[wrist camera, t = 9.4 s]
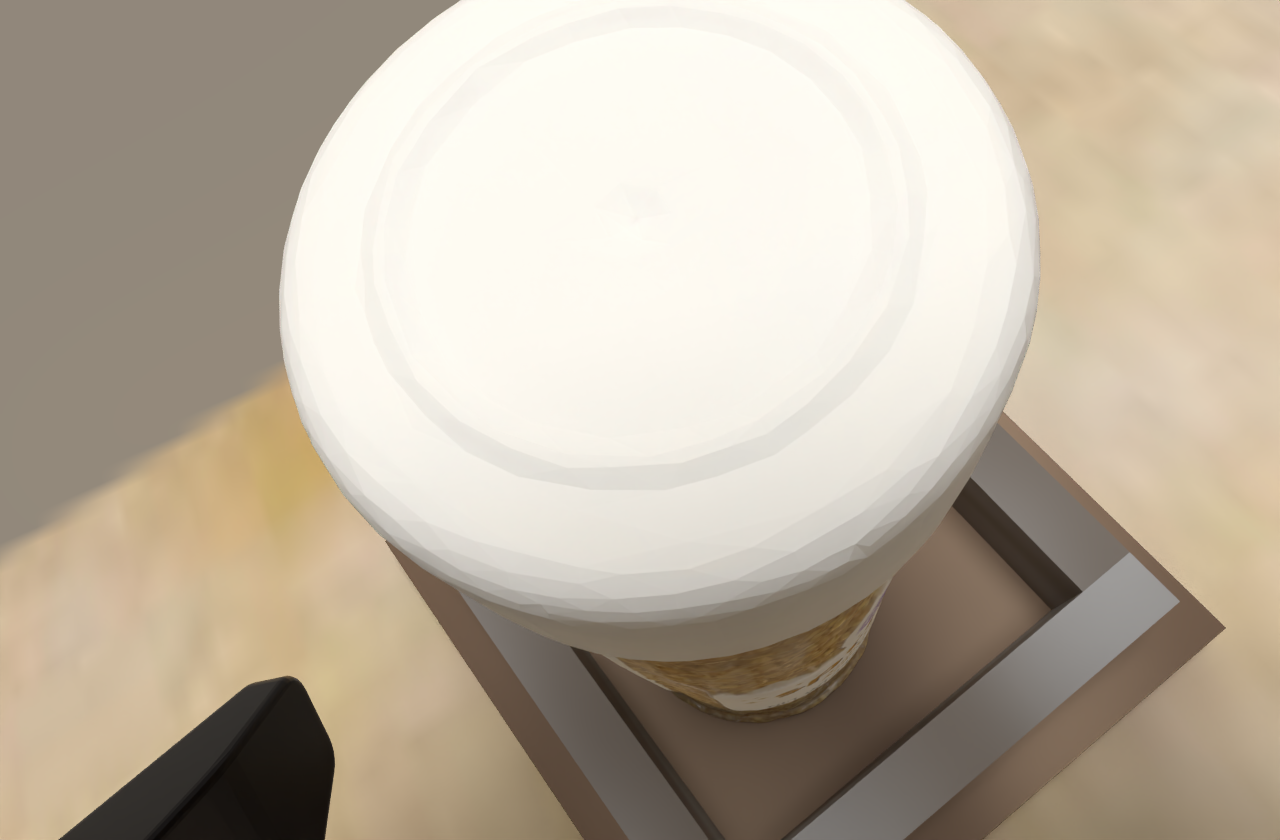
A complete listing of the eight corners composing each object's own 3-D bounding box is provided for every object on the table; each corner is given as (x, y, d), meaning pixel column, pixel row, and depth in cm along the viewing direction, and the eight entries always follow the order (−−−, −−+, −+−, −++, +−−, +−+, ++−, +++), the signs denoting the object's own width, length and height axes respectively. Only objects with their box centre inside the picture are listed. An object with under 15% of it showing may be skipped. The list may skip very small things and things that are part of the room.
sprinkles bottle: (871, 734, 17) (1086, 665, 4) (617, 711, 18) (160, 593, 5) (875, 482, 18) (1042, -126, 6) (639, 471, 19) (331, -83, 6)
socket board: (733, 1041, 16) (720, 1099, 14) (403, 550, 20) (340, 518, 17) (1202, 635, 17) (1281, 611, 15) (802, 240, 21) (803, 162, 18)
